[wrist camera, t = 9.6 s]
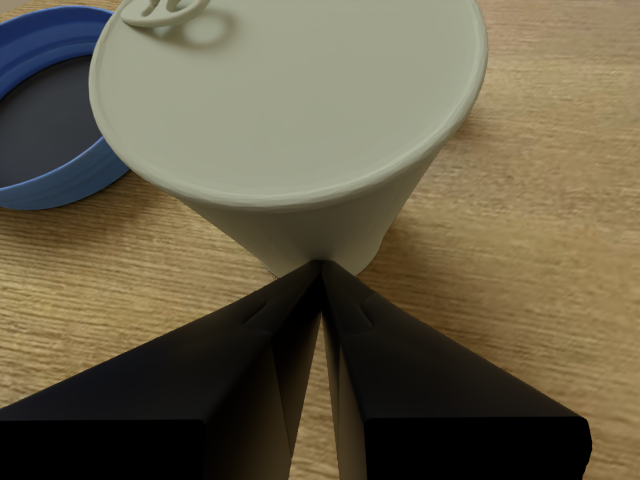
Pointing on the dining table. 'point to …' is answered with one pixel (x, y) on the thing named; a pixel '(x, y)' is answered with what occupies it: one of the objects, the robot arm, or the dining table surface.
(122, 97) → the can
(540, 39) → the dining table surface
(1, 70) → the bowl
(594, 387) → the dining table surface
